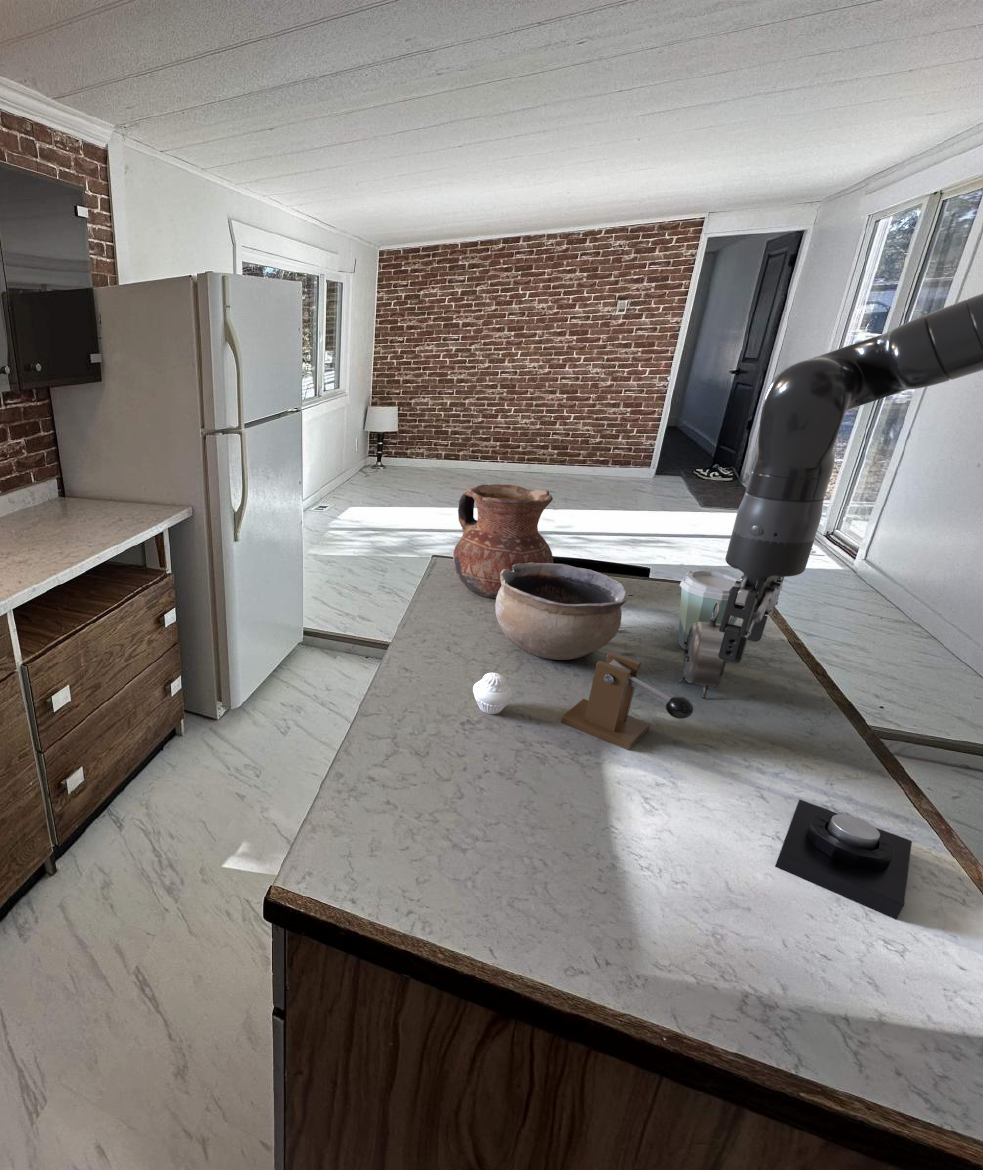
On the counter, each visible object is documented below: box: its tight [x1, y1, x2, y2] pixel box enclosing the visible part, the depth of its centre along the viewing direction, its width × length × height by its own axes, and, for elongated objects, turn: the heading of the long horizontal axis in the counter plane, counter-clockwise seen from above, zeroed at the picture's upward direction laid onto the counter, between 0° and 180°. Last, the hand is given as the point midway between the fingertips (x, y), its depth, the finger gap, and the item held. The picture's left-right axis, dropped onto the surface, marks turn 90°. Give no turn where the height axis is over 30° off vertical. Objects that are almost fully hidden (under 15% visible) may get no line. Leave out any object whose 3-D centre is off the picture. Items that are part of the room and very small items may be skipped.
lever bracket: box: [560, 652, 651, 751], centre depth 98 cm, size 10×8×12 cm
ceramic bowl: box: [494, 562, 630, 661], centre depth 122 cm, size 22×22×15 cm
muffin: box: [472, 672, 513, 715], centre depth 105 cm, size 6×6×7 cm
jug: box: [452, 483, 554, 599], centre depth 149 cm, size 22×21×25 cm
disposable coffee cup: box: [678, 568, 741, 650], centre depth 120 cm, size 11×11×15 cm
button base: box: [774, 799, 913, 920], centre depth 74 cm, size 13×10×4 cm
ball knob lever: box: [609, 660, 694, 720], centre depth 94 cm, size 12×3×3 cm, turn 39°
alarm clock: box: [678, 602, 727, 699], centre depth 107 cm, size 11×5×16 cm, turn 147°
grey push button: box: [827, 813, 880, 850], centre depth 73 cm, size 4×4×2 cm
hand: (739, 649), depth 81 cm, fingers open, 8 cm apart
